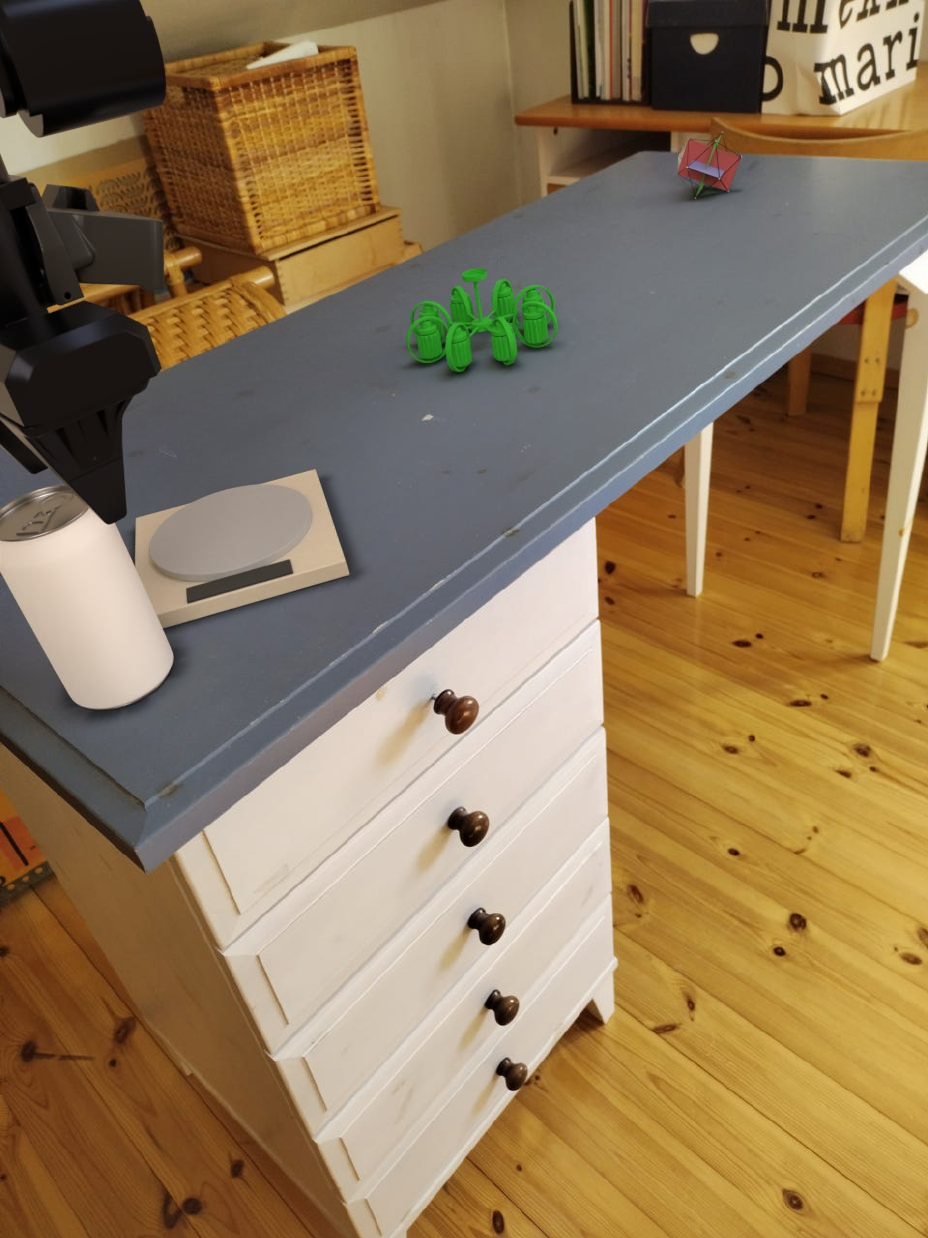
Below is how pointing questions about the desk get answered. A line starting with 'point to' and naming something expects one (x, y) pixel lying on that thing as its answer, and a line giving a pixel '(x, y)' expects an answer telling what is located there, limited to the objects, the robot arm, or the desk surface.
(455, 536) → the desk surface
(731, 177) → the geometric puzzle
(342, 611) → the desk surface
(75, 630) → the can
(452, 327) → the chandelier
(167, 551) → the scale
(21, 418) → the robot arm
